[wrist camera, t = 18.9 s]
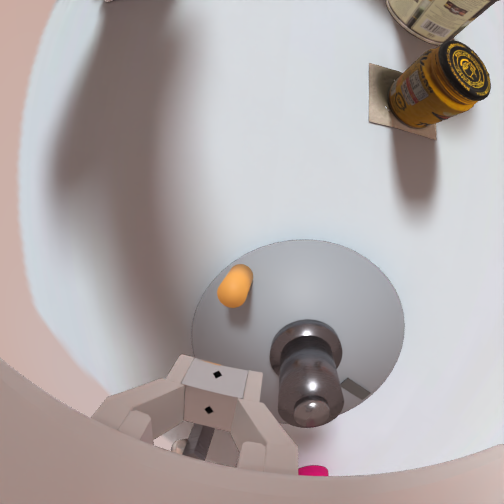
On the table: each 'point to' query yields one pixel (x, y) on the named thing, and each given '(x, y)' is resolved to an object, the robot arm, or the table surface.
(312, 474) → the pepper mill
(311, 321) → the urn
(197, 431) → the grey bar with dome
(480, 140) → the table surface
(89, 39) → the table surface
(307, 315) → the turntable
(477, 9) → the coffee can
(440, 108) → the condiment
